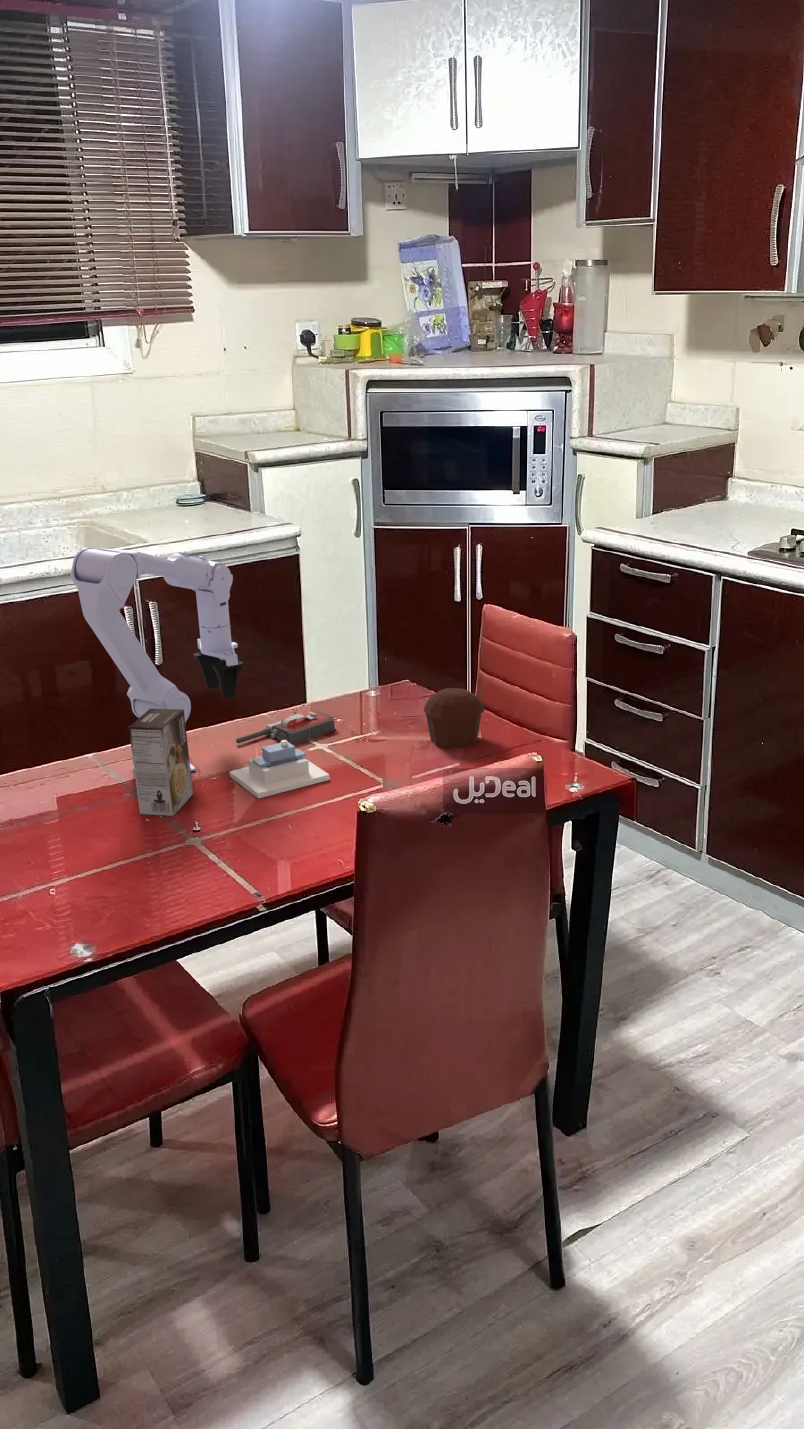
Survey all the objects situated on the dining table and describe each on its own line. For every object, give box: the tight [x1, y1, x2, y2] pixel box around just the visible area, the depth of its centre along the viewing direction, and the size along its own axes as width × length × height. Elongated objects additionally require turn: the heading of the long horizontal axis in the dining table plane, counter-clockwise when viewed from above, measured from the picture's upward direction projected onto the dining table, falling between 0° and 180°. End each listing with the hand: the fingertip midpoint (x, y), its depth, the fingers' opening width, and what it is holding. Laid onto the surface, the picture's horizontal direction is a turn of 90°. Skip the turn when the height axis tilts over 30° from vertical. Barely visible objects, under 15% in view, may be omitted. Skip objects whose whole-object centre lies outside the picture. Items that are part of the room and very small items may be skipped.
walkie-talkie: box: [235, 711, 336, 746], centre depth 228 cm, size 9×4×20 cm
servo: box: [251, 740, 307, 768], centre depth 207 cm, size 9×3×6 cm, turn 122°
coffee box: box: [128, 709, 194, 817], centre depth 197 cm, size 9×6×16 cm
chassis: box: [229, 755, 331, 799], centre depth 208 cm, size 14×12×4 cm
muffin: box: [423, 687, 485, 749], centre depth 222 cm, size 12×11×10 cm
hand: (220, 692), depth 222 cm, fingers open, 7 cm apart
